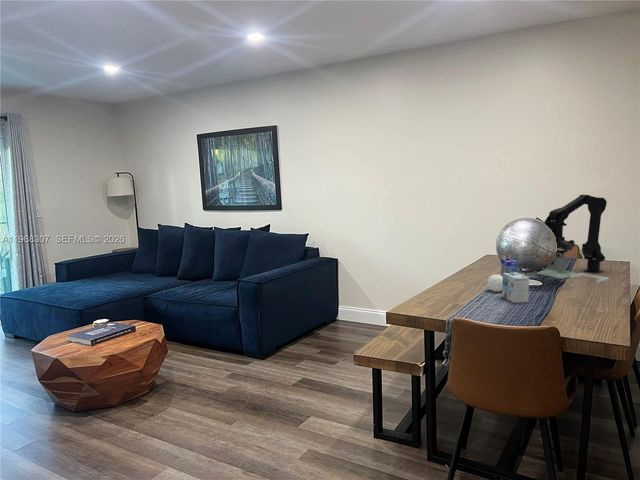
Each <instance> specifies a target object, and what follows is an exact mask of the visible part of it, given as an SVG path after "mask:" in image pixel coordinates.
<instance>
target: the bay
mask: <svg viewBox="0 0 640 480" xmlns="http://www.w3.org/2000/svg"><path fill="white" fill-rule="evenodd" d="M579 277H584V278H585V277H586V278H590V279H596V282H595V283H596V284H601V283H606V282H609V281H610V277H606V276H601V275H595V274H589V273H584V272H580V273H575V274H574V275H570V277H569V279H573V278H579Z"/></svg>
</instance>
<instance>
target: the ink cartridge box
mask: <svg viewBox="0 0 640 480" xmlns="http://www.w3.org/2000/svg"><path fill="white" fill-rule="evenodd" d="M509 258H510V257H509V256H508V255H507V254H505V257H501V258H500V275H501V276H502V277H503V273H514V272H517V273H519V272H518V271H519V270H518V261H517V260H516V259H514V258H512V259H509ZM513 259H514V260H513Z"/></svg>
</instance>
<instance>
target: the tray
mask: <svg viewBox="0 0 640 480" xmlns="http://www.w3.org/2000/svg"><path fill="white" fill-rule="evenodd" d="M534 273H535V272H534ZM574 274H576V273H575V271H570V270H562V271H557V270H552V269H545V270H543V271H540V272H537V273H535V275H540V276H545V277H551V278H555V279H560V280H561V279H562V280H563V279H566V278H570V275H574Z"/></svg>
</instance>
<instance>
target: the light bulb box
mask: <svg viewBox="0 0 640 480" xmlns="http://www.w3.org/2000/svg"><path fill="white" fill-rule="evenodd" d="M529 286H530V277H529V276H528V275H527V276H526V275H524V274H521V273H520V272H518V273H517V272H514V273H503V286H502V291H501V297H503V298H504V299H506V300H508V301H510V302H511V303H514V304H515V303H516V304H517V303H518V304H520V303H528V302H529V291H530V290H529V289H530V287H529Z"/></svg>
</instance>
